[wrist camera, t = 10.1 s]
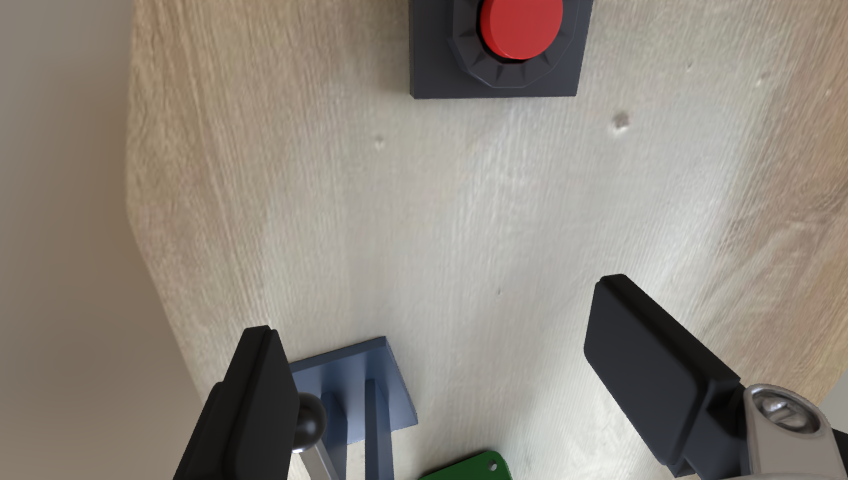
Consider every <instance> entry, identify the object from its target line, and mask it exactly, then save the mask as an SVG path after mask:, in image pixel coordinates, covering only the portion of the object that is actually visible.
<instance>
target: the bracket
mask: <svg viewBox="0 0 848 480" xmlns="http://www.w3.org/2000/svg"><path fill="white" fill-rule="evenodd" d="M289 367H290V370H291V373H292V376H293V379H294V382H295V385H296V388H297V391H298V392H308V393H312V394H314V395H316V396H317V397H318V398H319V399H320V400H321V401H322V402H323V404H324V406H325V408H326V411H327V426H326V429H325V432H324V434H323V436H322V437H321V440H322V442H323V444H324V447H325V449H326V451H327V453H328V456H329V458H330V460H331V462H332V465H333V467H334V469H335V471H336V474H337V476H338V478H339V480H346V460H347V445H348V444H352V443H355V442H358V441H362V440H365V480H394V469H393V455H392V441H391V432H392V431H396V430H399V429H403V428H406V427H409V426H413V425H416V424H418V418H417V413H416V410H415V408H414V405H413V403H412V400H411V398H410V396H409V393H408V391H407V388H406V386H405V383H404V381H403V378H402V376H401V373H400V371H399V368H398V366H397V363H396V361H395V358H394V356H393V353H392V351H391V348H390V346H389V343H388V341H387V338H386V336H384V337H380V338H377V339H373V340H370V341H367V342H363V343H360V344H356V345H353V346H349V347H346V348H342V349H339V350H336V351H332V352H329V353H325V354H322V355H318V356H315V357H312V358H308V359H305V360H301V361H298V362H294V363H291V364H289Z"/></svg>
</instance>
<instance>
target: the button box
mask: <svg viewBox="0 0 848 480" xmlns="http://www.w3.org/2000/svg"><path fill="white" fill-rule="evenodd" d="M483 2H484V0H409V47H410V94H411V96H412V97H413V98H414V99H461V98H515V97H569V96H576V94H577V88H578V83H579V77H580V71H581V66H582V60H583V55H584V49H585V44H586V38H587V33H588V27H589V22H590V16H591V11H592V5H593V0H562V5H563V14H562V21H561V25H560V28H559V30H558V33H557V35H556V36H555V38H554V40H553V41H552V43H551V44H550V45H549V46H548V47H547V48H546V49H545V50H544V51H543V52H541V53H540V54H538V55H536V56H534V57H532V58H528V59H513V58H505V57H501V56H499V55H497V54H495V53H494V52H493V51H491V50H490V49H489V48H488V46H487V45H486V43H485V42H484V40H483V37H482V34H481V30H480V13H481V8H482V5H483Z"/></svg>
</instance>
